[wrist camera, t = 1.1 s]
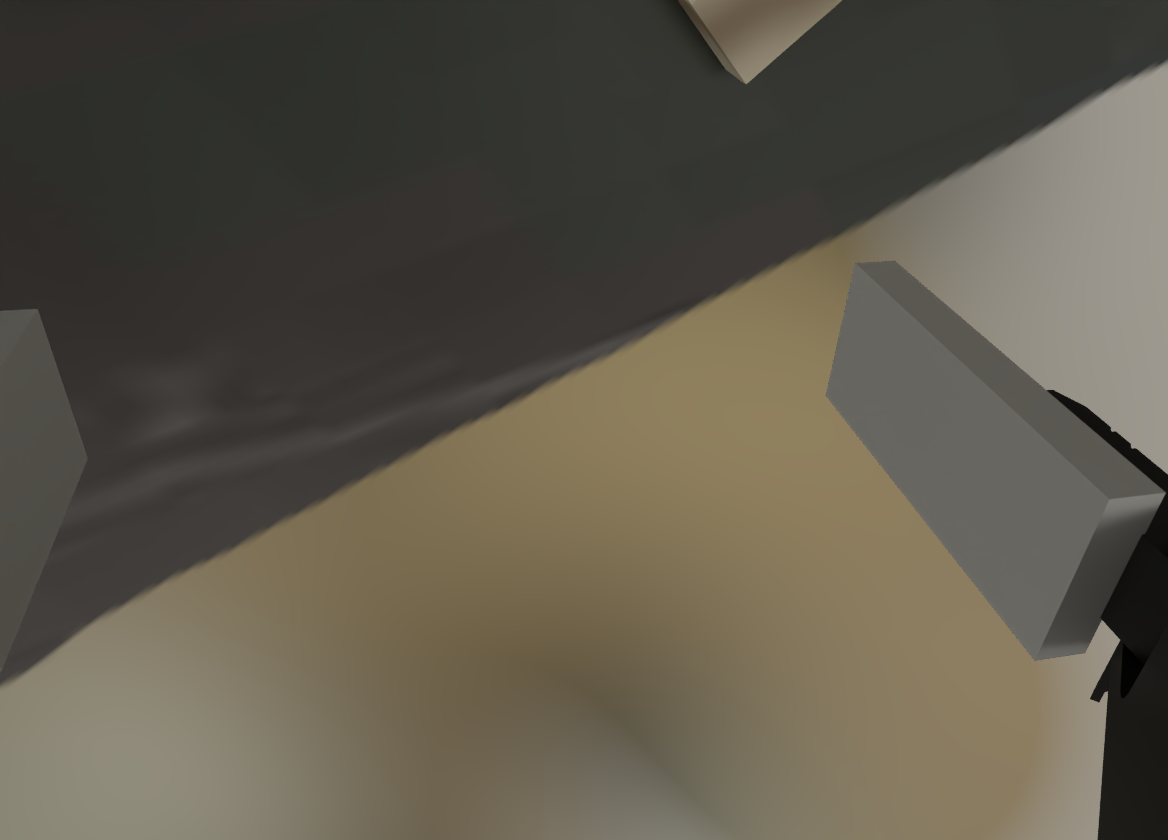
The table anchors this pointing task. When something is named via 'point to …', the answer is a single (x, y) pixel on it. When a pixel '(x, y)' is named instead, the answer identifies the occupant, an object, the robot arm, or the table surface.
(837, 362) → the robot arm
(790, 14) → the wooden board
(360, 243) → the table surface
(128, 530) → the table surface
